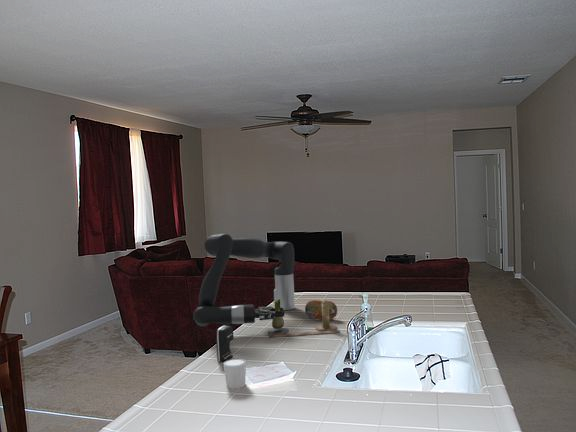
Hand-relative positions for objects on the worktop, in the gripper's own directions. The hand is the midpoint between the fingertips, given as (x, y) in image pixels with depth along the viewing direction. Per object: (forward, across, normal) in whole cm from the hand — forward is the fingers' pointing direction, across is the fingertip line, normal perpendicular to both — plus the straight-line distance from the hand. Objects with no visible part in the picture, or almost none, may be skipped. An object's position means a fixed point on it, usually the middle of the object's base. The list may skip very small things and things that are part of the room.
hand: (283, 312), depth 213 cm
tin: (+18, +17, +8) cm, 26 cm away
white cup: (-19, -56, +8) cm, 60 cm away
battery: (-23, -31, +8) cm, 39 cm away
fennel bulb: (-2, 0, +7) cm, 7 cm away
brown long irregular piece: (+8, -2, +8) cm, 11 cm away
